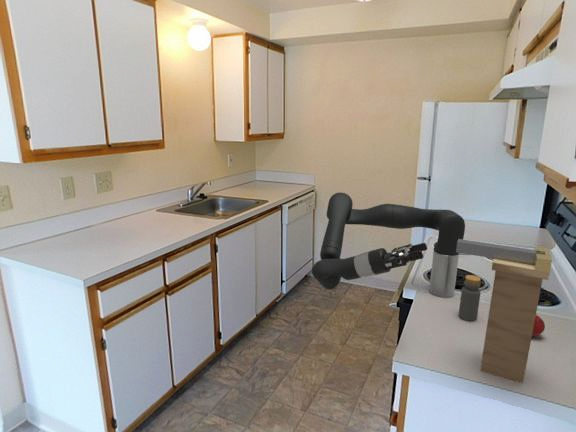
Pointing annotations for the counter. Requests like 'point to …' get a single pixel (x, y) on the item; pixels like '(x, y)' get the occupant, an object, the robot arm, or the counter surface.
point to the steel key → (507, 253)
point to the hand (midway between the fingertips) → (424, 250)
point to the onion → (538, 326)
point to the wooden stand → (511, 318)
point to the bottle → (470, 298)
